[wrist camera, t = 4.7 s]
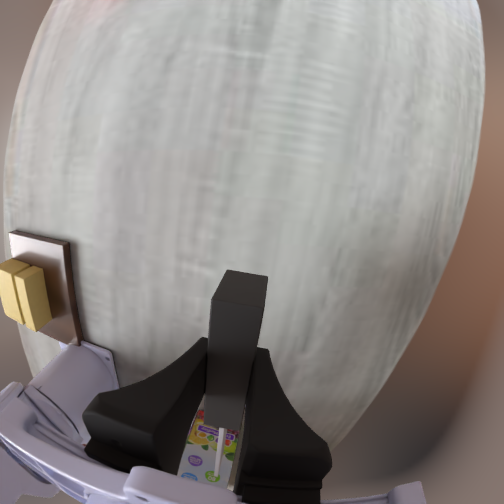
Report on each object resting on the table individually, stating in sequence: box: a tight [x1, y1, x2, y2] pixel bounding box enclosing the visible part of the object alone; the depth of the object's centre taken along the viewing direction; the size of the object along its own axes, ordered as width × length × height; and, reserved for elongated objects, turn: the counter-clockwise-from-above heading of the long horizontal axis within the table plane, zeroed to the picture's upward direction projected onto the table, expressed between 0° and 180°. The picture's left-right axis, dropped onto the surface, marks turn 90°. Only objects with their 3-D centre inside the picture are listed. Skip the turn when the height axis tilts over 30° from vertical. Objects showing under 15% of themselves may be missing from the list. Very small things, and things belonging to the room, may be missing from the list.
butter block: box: [0, 258, 30, 325], centre depth 21 cm, size 6×4×3 cm, turn 172°
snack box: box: [177, 410, 242, 489], centre depth 22 cm, size 21×6×15 cm, turn 163°
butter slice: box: [15, 266, 52, 332], centre depth 21 cm, size 6×2×3 cm, turn 172°
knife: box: [204, 270, 268, 477], centre depth 14 cm, size 16×2×3 cm, turn 172°
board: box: [9, 230, 84, 347], centre depth 23 cm, size 12×10×1 cm
